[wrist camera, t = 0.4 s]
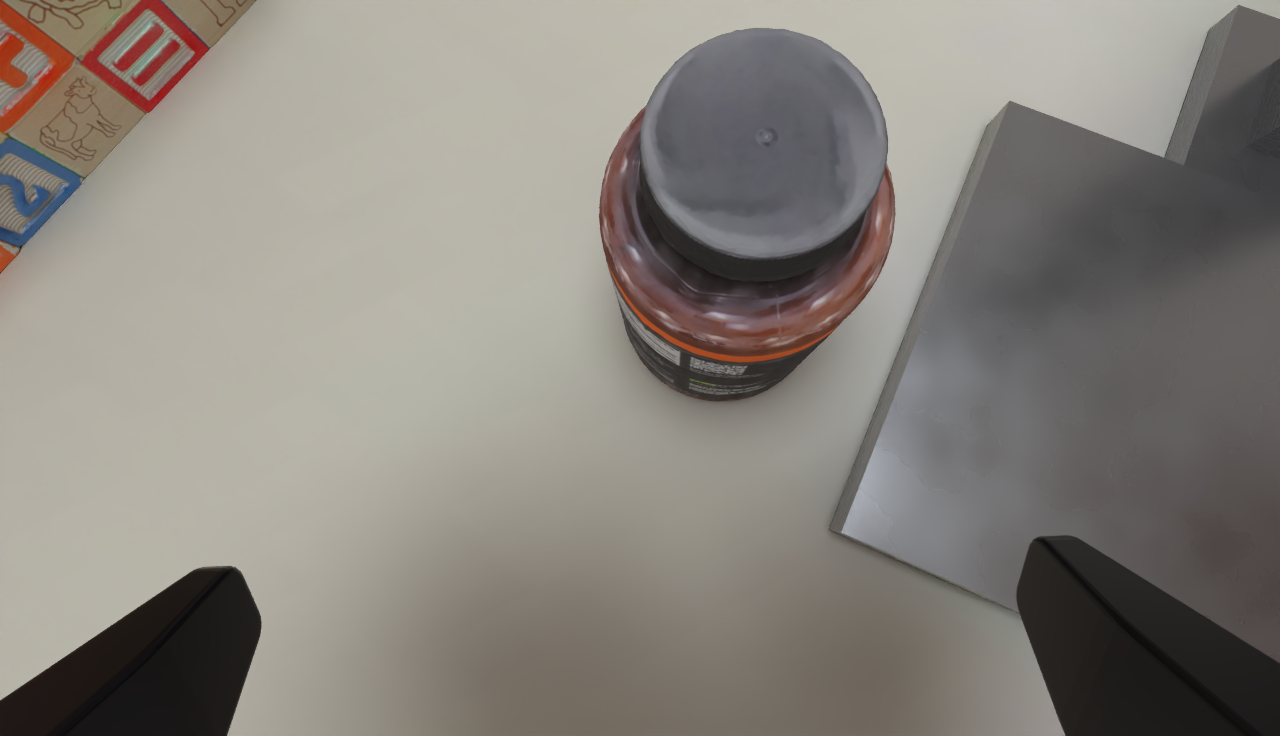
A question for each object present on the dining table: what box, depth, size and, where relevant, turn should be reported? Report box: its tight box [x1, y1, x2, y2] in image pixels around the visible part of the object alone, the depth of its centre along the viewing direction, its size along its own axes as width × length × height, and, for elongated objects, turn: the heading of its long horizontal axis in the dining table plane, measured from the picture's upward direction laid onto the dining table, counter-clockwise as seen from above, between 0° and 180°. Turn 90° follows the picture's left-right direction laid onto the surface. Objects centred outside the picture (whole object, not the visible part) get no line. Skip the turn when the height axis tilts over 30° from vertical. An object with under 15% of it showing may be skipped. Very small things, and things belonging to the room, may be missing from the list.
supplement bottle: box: [599, 28, 895, 401], centre depth 17 cm, size 6×6×11 cm
